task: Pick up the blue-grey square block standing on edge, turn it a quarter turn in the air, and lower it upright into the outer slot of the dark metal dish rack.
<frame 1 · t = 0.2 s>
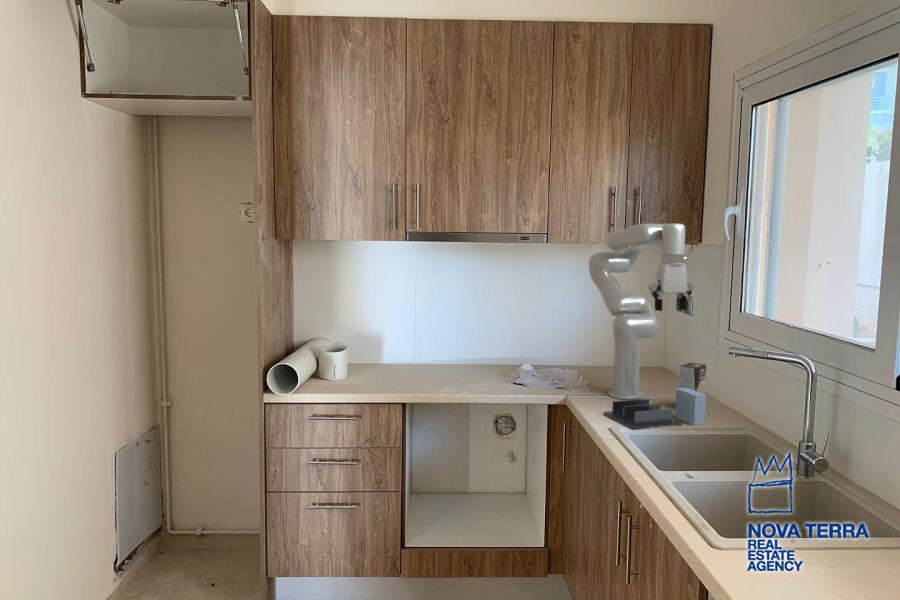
hand: (670, 310, 217), 36 cm above the worktop, tool pointing down, fingers open, 9 cm apart
dish rack: (641, 419, 212), on the worktop
coffee box: (691, 409, 226), on the worktop
blue-grey square block: (689, 420, 211), on the worktop
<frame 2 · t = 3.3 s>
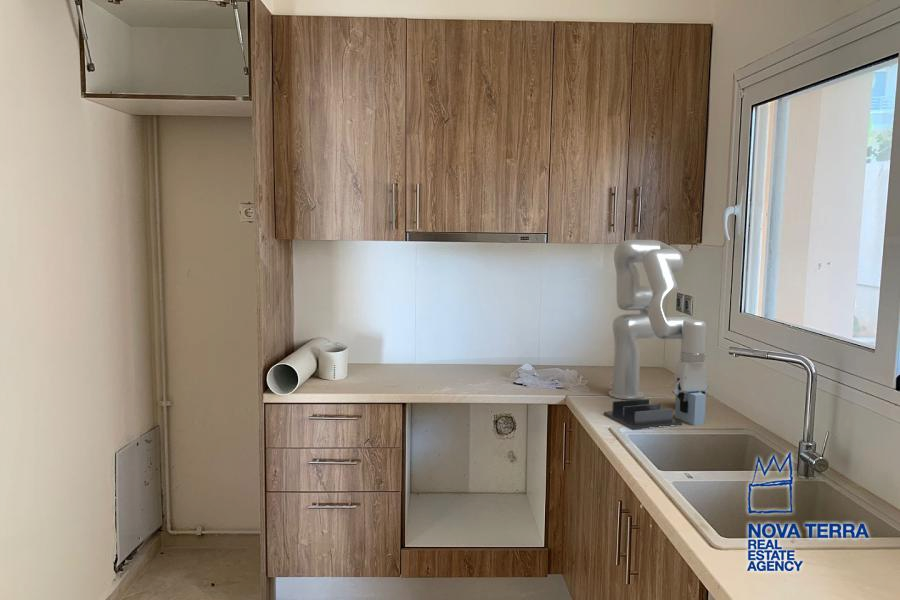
hand: (689, 411, 211), 3 cm above the worktop, tool pointing down, fingers closed on blue-grey square block, 4 cm apart
blue-grey square block: (689, 420, 211), on the worktop, touching gripper
everything else where it was.
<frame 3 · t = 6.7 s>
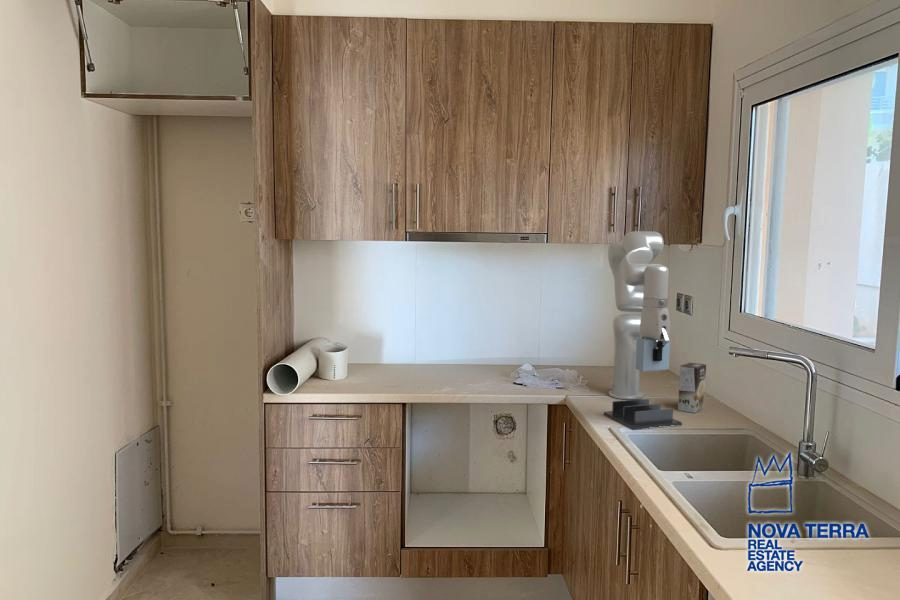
hand: (652, 358, 207), 21 cm above the worktop, tool pointing down, fingers closed on blue-grey square block, 4 cm apart
blue-grey square block: (652, 369, 207), point 18 cm above the worktop, touching gripper
everything else where it was.
when the fingers open (6 cm above the worktop, at t = 10.1 s): blue-grey square block drops 1 cm, resting on dish rack.
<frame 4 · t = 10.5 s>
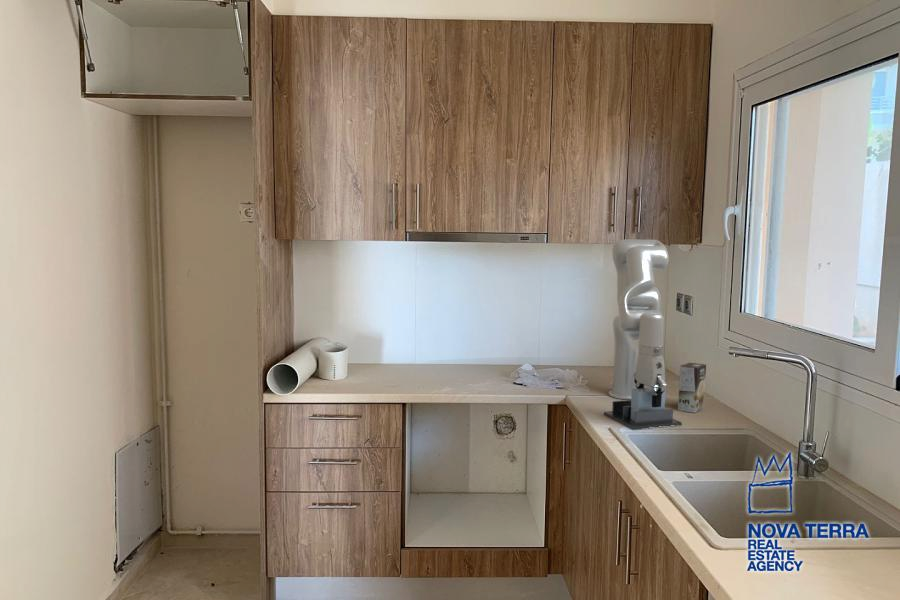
hand: (648, 403, 208), 7 cm above the worktop, tool pointing down, fingers open, 8 cm apart
blue-grey square block: (647, 419, 208), point 1 cm above the worktop, touching dish rack
everything else where it was.
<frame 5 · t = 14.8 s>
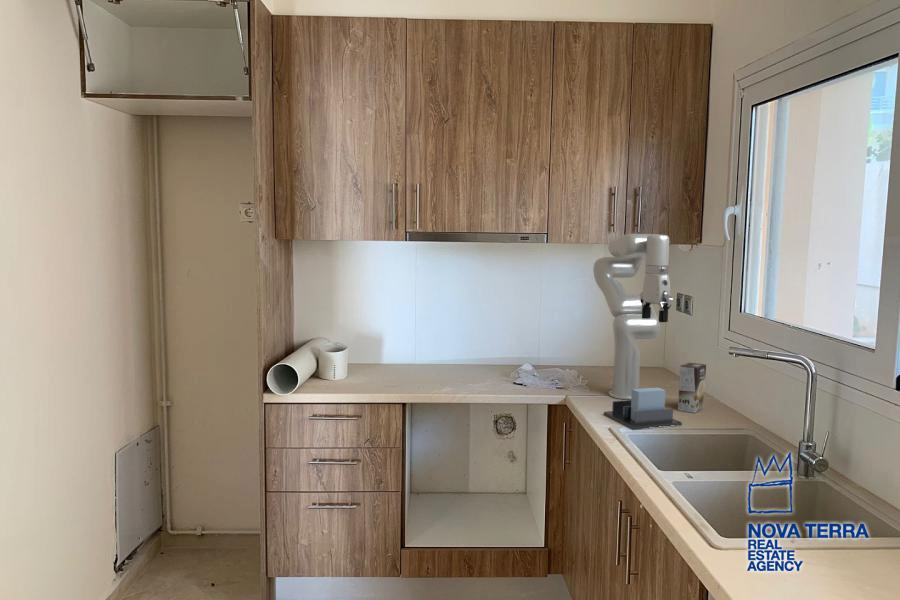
hand: (654, 320, 219), 32 cm above the worktop, tool pointing down, fingers open, 9 cm apart
nothing on the worktop moved.
at the end: blue-grey square block 0.1 cm from the target spot on the dish rack, point 1.0 cm above the dish rack's base; blue-grey square block tilted 0°; the gripper is holding nothing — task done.
